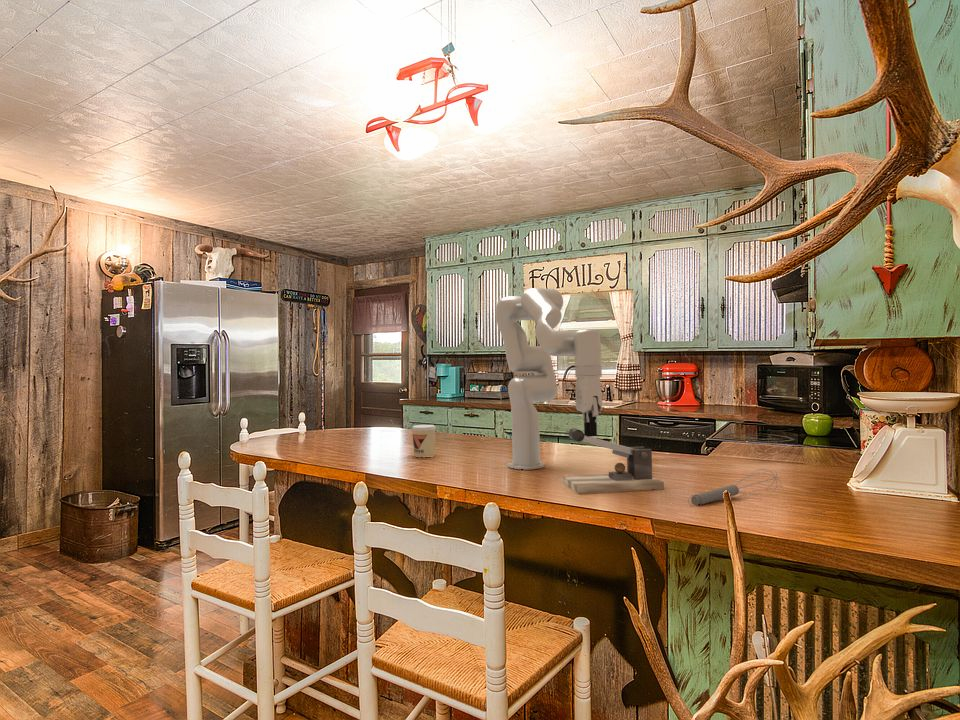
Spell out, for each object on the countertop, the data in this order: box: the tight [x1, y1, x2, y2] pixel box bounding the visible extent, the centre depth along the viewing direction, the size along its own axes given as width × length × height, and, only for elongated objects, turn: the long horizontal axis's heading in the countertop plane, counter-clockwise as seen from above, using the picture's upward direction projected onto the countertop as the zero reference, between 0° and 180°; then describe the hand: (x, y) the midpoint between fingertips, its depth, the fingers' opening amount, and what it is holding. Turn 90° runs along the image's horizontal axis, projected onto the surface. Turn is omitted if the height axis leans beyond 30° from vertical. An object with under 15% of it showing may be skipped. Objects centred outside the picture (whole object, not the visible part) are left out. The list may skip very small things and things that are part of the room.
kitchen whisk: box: [687, 468, 782, 507], centre depth 142 cm, size 6×34×6 cm, turn 117°
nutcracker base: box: [562, 446, 665, 495], centre depth 158 cm, size 14×25×10 cm, turn 98°
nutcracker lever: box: [567, 427, 639, 459], centre depth 158 cm, size 5×23×4 cm, turn 98°
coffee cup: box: [411, 424, 437, 457], centre depth 214 cm, size 9×9×12 cm
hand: (590, 435), depth 157 cm, fingers closed
